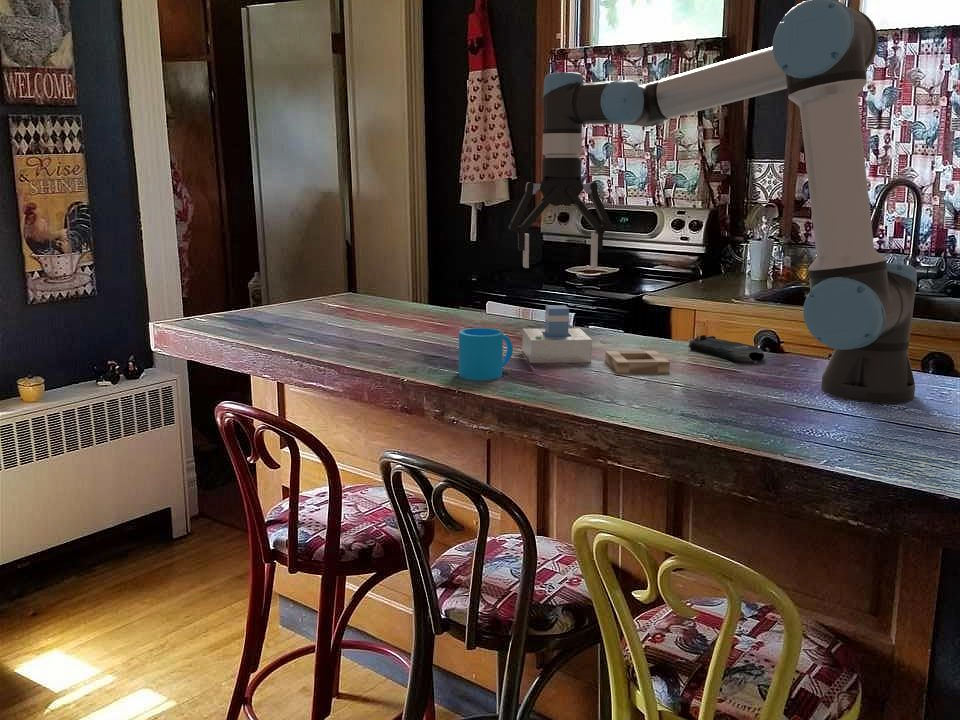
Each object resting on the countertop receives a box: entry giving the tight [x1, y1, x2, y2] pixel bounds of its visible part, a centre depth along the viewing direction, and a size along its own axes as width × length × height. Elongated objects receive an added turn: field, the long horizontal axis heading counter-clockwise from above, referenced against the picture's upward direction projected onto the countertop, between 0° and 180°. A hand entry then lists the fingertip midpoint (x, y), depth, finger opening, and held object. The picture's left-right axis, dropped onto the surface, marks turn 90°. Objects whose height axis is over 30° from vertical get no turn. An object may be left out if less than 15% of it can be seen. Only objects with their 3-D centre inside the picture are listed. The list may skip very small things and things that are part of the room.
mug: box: [458, 327, 514, 381], centre depth 171 cm, size 12×8×8 cm
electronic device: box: [688, 334, 765, 364], centre depth 189 cm, size 9×6×15 cm
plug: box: [544, 304, 570, 337], centre depth 184 cm, size 4×4×10 cm
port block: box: [521, 327, 593, 366], centre depth 184 cm, size 12×12×5 cm
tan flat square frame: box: [604, 350, 671, 374], centre depth 176 cm, size 10×10×2 cm
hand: (559, 267), depth 181 cm, fingers open, 13 cm apart
